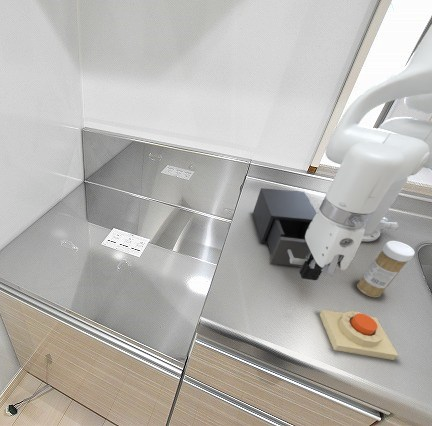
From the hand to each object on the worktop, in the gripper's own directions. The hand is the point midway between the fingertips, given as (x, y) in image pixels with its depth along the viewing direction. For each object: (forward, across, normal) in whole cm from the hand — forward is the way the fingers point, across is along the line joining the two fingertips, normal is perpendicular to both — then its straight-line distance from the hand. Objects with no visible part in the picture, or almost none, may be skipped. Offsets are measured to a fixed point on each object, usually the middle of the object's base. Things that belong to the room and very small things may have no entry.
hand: (307, 276), depth 65 cm
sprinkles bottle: (+5, +3, -15) cm, 16 cm away
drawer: (+4, +11, 0) cm, 11 cm away
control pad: (+4, -10, -7) cm, 13 cm away
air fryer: (+5, +22, 0) cm, 22 cm away
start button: (+1, -10, -7) cm, 12 cm away
